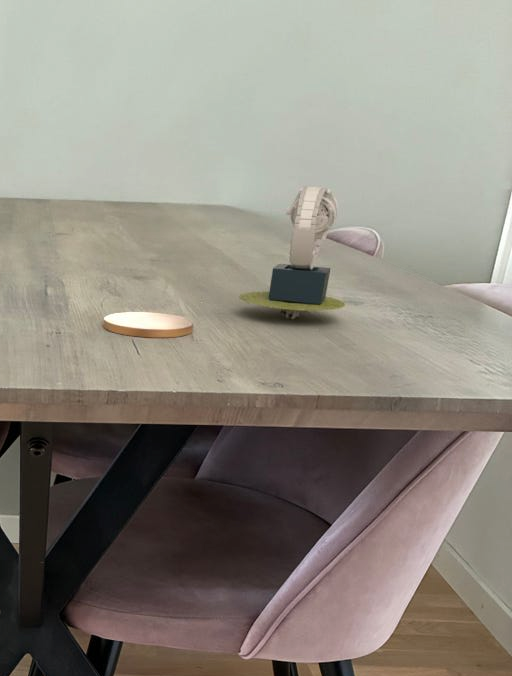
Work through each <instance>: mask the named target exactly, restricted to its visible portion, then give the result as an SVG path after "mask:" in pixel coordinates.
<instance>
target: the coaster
mask: <svg viewBox="0 0 512 676" xmlns="http://www.w3.org/2000/svg"><path fill="white" fill-rule="evenodd" d="M102 326H103V328H104V329H105V330H107V331H109V332H112V333H115V334H118V335H122V336H128V337H129V336H130V337H138V338H151V339H152V338H153V339H165V338H166V339H167V338H179V337H184V336H187V335H190V334H192V333H193V331H194V322H193V321H192V320H191V319H190V318H189V319H188V318H187V317H183V316H179V315H174V314H170V313H169V314H168V313H160V312H150V311H149V312H148V311H126V312H115V313H111V314H108V315H106V316H104V317H103V325H102Z"/></svg>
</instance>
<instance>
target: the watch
mask: <svg viewBox="0 0 512 676" xmlns="http://www.w3.org/2000/svg"><path fill="white" fill-rule="evenodd" d="M292 200H293V201H292V203H291V206H287V207H286V209H285V215H286V216H289V218H290V221H291V223H292V227H293V229H292V231H291V240H290V249H289V250H288V254H289V263H290V264H289V263H278V264H276V266H274V267H273V268H272V270H271V271H272V272H271V278H270V285H269V291H268V292H269V298H268V299H272V300H283V301H293V302H303V303H314V304H321V303H322V302H323V300H324V299H325V297H327V290H328V285H329V279H330V274H331V267H323V266H315V265H316V263H317V260H318V256H319V252H320V249H321V243H322V242H325V240H326V238H327V236H328V235H329V232H330V230H331V228H332V227H333V225H334V223H335V221H336V219H337V217H338V213H339V203H338V201H337V198H336V197H335V196H334V194H333V192H332V191H331V189H330V188H327V187H320V186H303V187H301V188H300V189H299V191H298V193H297V195H296V196H295V197H294V199H292Z"/></svg>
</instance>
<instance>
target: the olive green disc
mask: <svg viewBox="0 0 512 676" xmlns="http://www.w3.org/2000/svg"><path fill="white" fill-rule="evenodd" d="M238 298H239V299H240V300H241V301H243V302H245V303H247V304H252V305H258V306H260V307H261V306H262V307H265V308H276V309H280V312H279V313H280V314H283V315H284V316H285V318H286V319H289V318H290V317H291V320H294V319H296V318H299V315H300V311H303V312H304V311H306V312H307V311H308V312H316V311H317V312H318V311H324V312H325V311H326V310H327V311H330V310H337V309H342V308H344V307H345V306H346V303H345V302H344V301H342V300H340V299H337V298H334V297H331V296H326V297H325V299H324V300H323V302H322V303H321V304H314V303H303V302H293V301H283V300H272V299H268V298H269V291H252V292H246V293H245V292H244V293H241V294H240V295H238Z"/></svg>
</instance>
